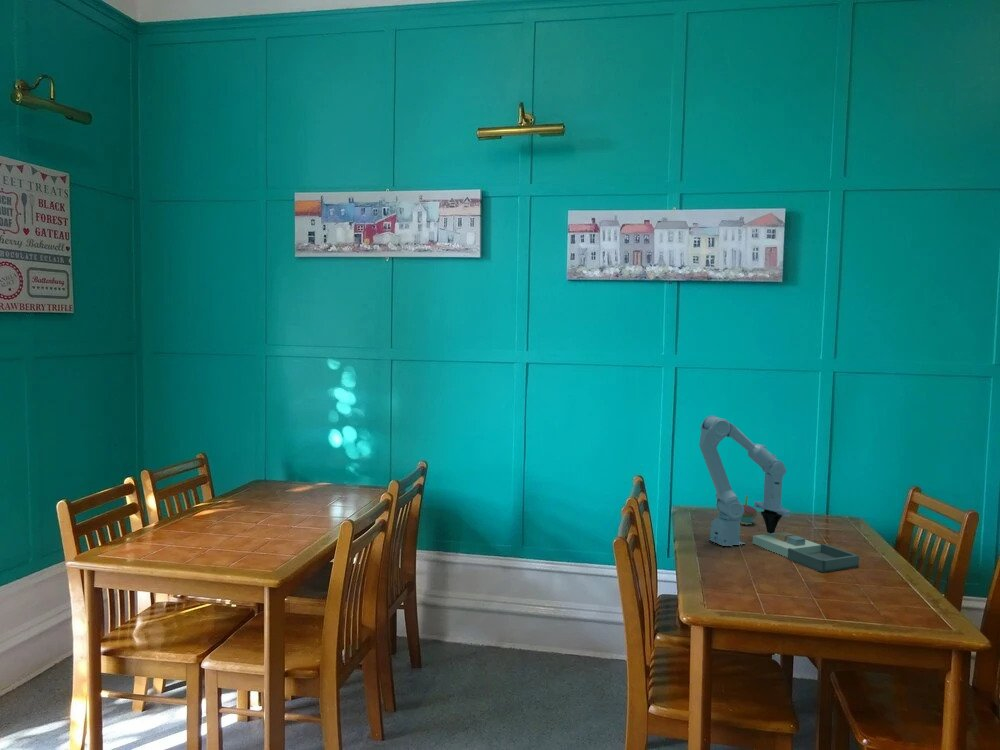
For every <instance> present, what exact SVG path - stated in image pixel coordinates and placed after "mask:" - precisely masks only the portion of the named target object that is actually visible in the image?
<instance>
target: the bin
mask: <svg viewBox="0 0 1000 750" xmlns="http://www.w3.org/2000/svg"><path fill="white" fill-rule="evenodd" d="M820 545H821V553H813V554H805V553H803V552H800V551H797V550H795V549H792V548H788V558H787V560H789V561H792V562H794V563H797V564H800V565H803V566H805V567H807V568H810V569H813V570H815V571H817V572H820V573H827V572H834V571H835V572H836V571H840V570H848V569H853V568H859V567H860V565H859V564H860V555H858V554H856V553H852V552H850V551H847V550H843V549H841V548H838V547H835V546H831V545H829V544H825V543H821V544H820Z"/></svg>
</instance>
